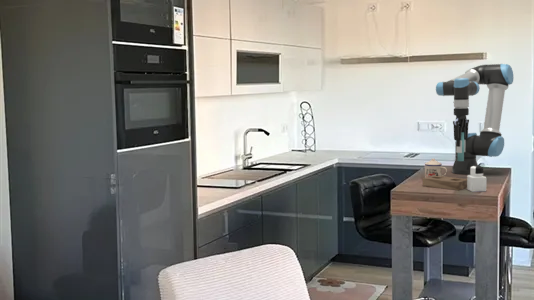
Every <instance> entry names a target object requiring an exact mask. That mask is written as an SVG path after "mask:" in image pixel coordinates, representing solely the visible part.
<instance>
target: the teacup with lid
mask: <svg viewBox="0 0 534 300" xmlns="http://www.w3.org/2000/svg"><path fill="white" fill-rule="evenodd" d="M442 169H444V171H445V173H443V174H442ZM447 172H448V169H447V167H445V166H442V163H441V162H439V161H437V160H436V159H435V158H431V159H430V160H429V161H427V162H425V163H424V178H427V177H431V176H443V177H445V175H447Z"/></svg>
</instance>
